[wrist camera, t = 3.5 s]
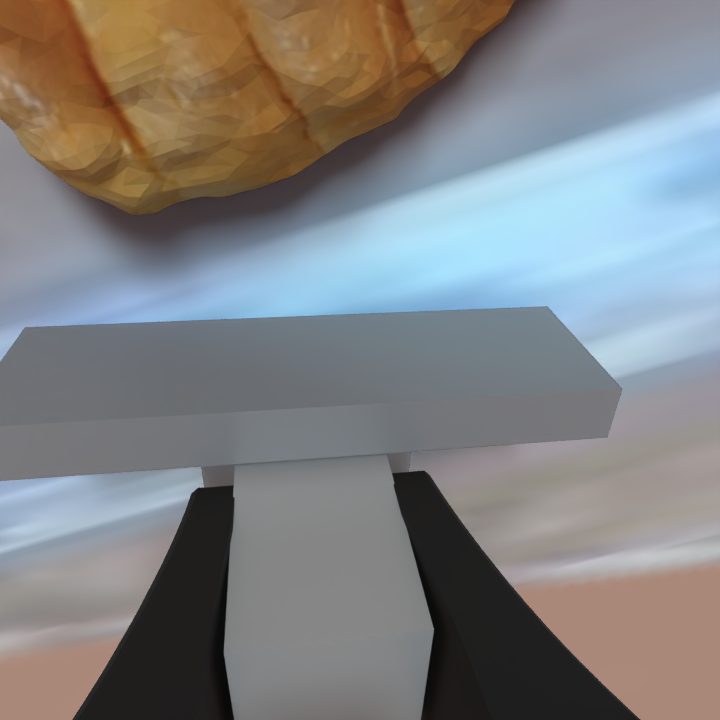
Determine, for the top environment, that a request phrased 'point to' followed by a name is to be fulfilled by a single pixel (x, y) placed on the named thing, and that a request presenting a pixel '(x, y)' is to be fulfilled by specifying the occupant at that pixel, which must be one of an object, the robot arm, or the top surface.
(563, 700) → the robot arm
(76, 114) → the pastry
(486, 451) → the top surface
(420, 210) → the top surface
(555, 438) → the pusher
